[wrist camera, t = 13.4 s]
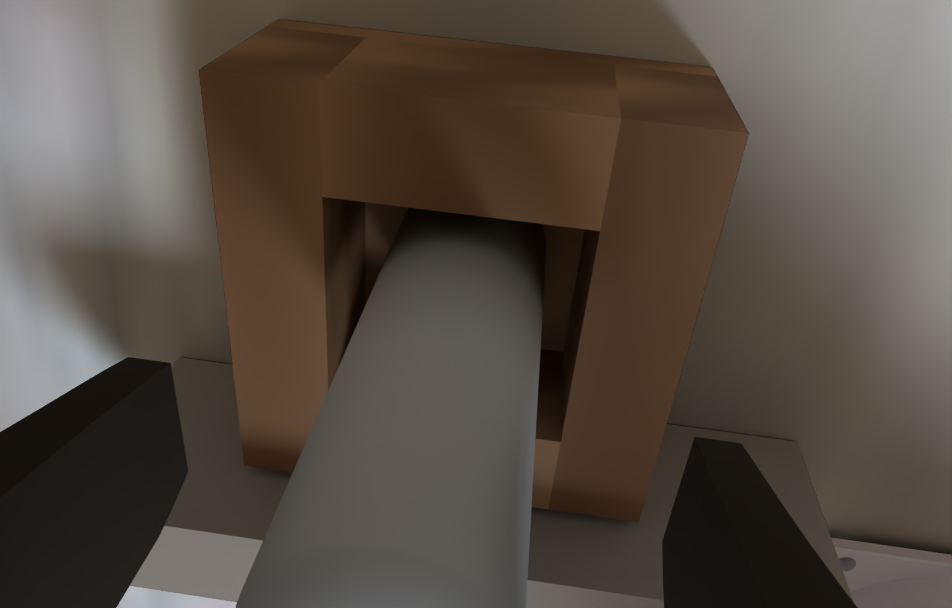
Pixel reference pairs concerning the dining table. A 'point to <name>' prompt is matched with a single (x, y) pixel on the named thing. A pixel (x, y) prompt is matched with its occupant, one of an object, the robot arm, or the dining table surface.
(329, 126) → the socket block
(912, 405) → the dining table surface
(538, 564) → the block
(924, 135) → the dining table surface
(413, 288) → the dowel
